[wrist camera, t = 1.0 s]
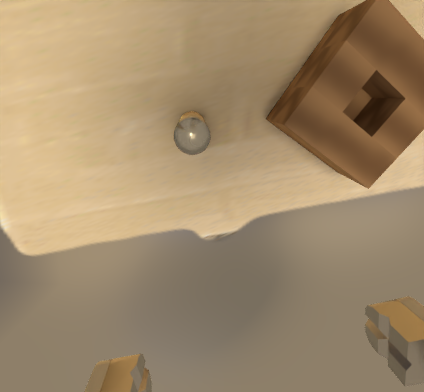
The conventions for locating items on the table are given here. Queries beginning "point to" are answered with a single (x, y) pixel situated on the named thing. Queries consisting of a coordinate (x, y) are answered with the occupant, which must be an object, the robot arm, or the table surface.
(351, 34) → the bore block
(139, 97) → the table surface
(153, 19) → the table surface
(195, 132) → the pin
